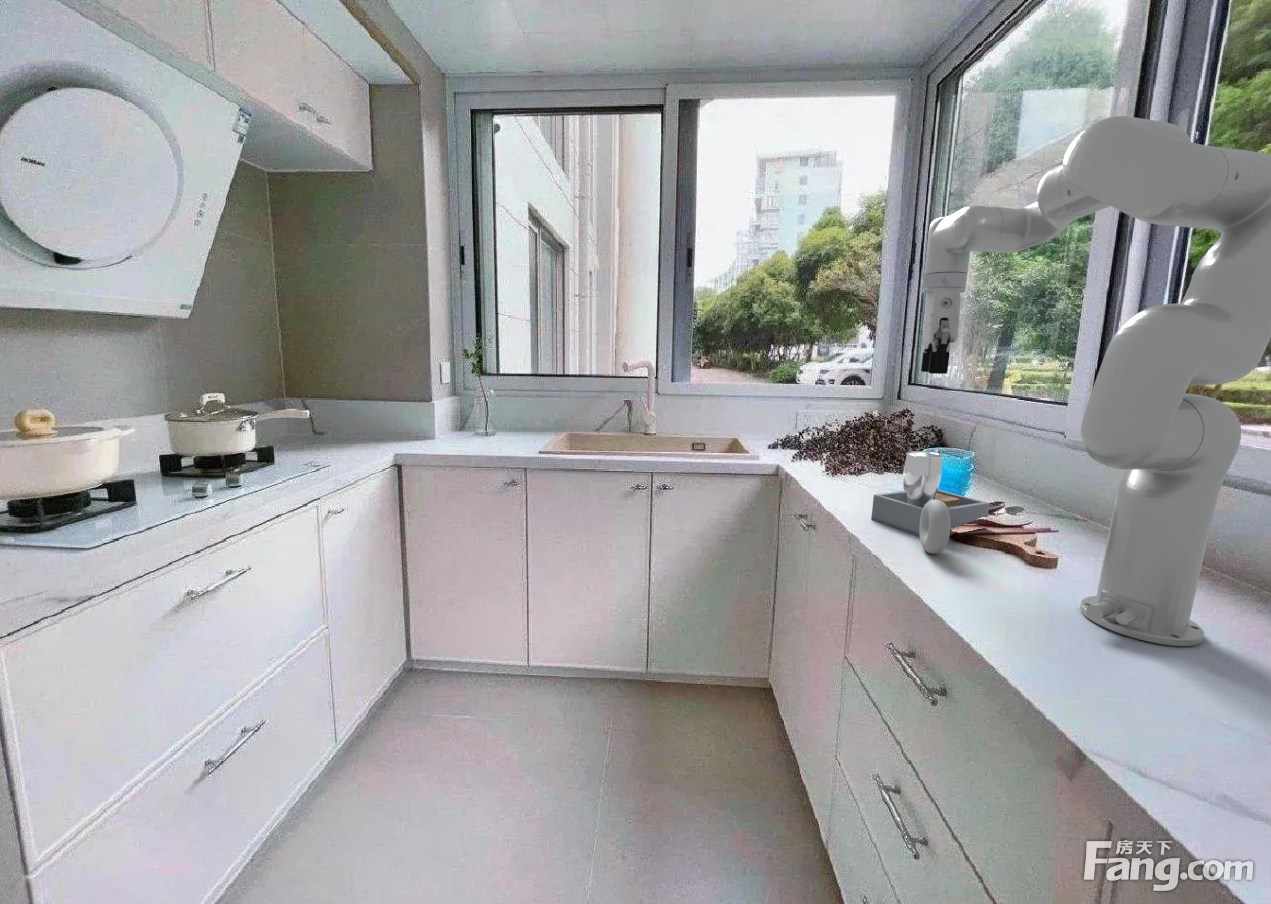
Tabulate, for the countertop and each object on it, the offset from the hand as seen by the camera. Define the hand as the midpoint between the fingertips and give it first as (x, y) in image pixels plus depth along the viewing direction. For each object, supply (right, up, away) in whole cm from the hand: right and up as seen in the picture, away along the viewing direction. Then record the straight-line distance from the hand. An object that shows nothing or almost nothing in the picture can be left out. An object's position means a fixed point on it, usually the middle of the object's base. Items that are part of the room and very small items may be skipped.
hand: (933, 372), depth 111 cm
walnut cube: (+6, -31, +9) cm, 33 cm away
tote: (+3, -32, +8) cm, 33 cm away
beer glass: (-1, -31, +6) cm, 32 cm away
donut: (-5, -35, -9) cm, 36 cm away
